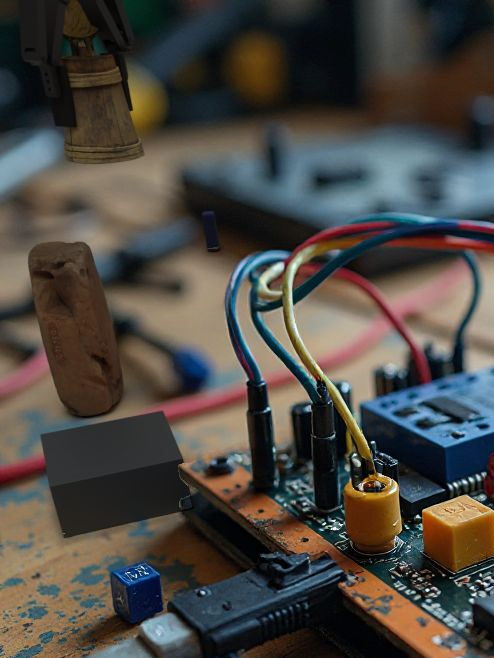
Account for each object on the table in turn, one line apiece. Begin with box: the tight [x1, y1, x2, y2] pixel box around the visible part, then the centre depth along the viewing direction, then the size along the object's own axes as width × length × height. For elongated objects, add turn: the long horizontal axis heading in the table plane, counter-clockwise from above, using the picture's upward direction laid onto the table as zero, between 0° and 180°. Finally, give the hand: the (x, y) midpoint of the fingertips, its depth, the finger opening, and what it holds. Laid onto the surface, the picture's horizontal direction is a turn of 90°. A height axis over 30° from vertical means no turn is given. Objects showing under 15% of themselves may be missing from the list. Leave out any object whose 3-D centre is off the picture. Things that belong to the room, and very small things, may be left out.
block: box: [27, 240, 124, 417], centre depth 132 cm, size 11×8×20 cm
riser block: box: [39, 410, 192, 539], centre depth 114 cm, size 13×13×6 cm
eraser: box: [201, 210, 221, 253], centre depth 191 cm, size 2×2×7 cm
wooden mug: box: [59, 0, 145, 165], centre depth 125 cm, size 9×14×18 cm, turn 22°
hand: (95, 118), depth 127 cm, fingers open, 9 cm apart
